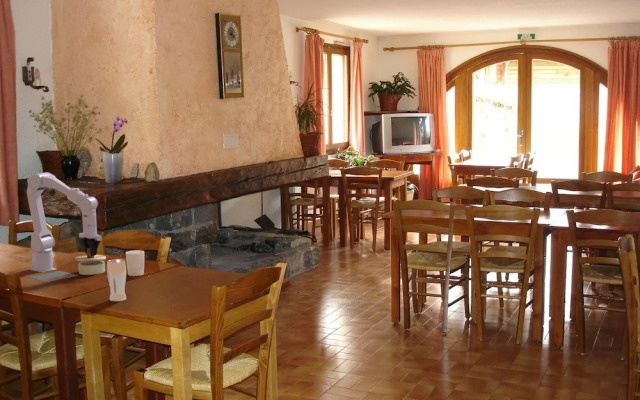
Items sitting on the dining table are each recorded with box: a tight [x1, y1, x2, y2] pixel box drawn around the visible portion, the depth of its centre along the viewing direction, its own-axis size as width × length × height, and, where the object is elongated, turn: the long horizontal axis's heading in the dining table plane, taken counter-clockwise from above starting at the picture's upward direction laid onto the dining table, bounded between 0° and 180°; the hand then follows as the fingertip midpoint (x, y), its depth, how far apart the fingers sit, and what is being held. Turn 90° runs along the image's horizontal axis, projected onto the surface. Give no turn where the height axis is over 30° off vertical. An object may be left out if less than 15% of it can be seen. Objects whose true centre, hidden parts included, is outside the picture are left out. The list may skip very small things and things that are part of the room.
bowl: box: [78, 260, 106, 276], centre depth 316 cm, size 11×11×4 cm
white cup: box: [125, 249, 145, 277], centre depth 312 cm, size 8×8×10 cm
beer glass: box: [106, 258, 127, 303], centre depth 271 cm, size 7×7×15 cm
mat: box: [28, 270, 80, 283], centre depth 309 cm, size 15×15×1 cm
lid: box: [74, 248, 107, 263], centre depth 315 cm, size 13×13×5 cm
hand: (91, 255), depth 315 cm, fingers closed on lid, 3 cm apart
